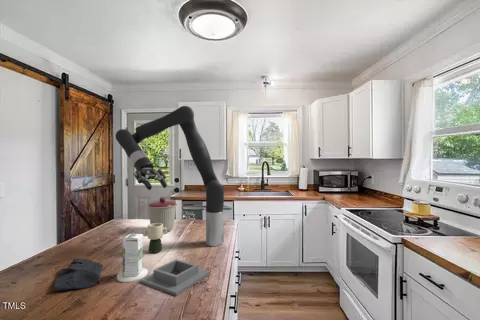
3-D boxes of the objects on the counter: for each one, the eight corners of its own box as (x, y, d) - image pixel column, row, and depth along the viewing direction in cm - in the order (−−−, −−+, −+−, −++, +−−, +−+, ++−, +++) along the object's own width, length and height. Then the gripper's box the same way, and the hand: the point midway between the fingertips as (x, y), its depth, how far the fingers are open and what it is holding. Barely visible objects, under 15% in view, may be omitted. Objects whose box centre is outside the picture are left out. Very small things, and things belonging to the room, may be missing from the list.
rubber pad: (135, 267, 104) (135, 265, 104) (154, 273, 98) (154, 271, 98) (110, 278, 94) (110, 275, 94) (129, 285, 89) (129, 283, 89)
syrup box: (128, 270, 99) (128, 233, 99) (143, 269, 99) (143, 233, 99) (122, 276, 93) (122, 238, 93) (138, 276, 94) (138, 237, 94)
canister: (155, 226, 168) (155, 195, 168) (181, 227, 165) (181, 195, 165) (141, 234, 150) (141, 199, 150) (170, 235, 147) (170, 199, 147)
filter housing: (176, 264, 106) (176, 255, 106) (210, 274, 97) (210, 264, 97) (140, 282, 91) (140, 271, 91) (176, 295, 82) (176, 283, 82)
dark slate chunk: (43, 297, 82) (43, 283, 82) (61, 270, 102) (61, 258, 102) (97, 288, 88) (97, 274, 88) (104, 264, 108) (104, 253, 108)
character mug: (166, 247, 127) (166, 222, 127) (167, 252, 120) (167, 225, 120) (143, 250, 123) (143, 224, 123) (143, 255, 116) (143, 227, 116)
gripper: (131, 156, 110) (149, 183, 104) (157, 156, 122) (174, 180, 116) (124, 168, 113) (141, 195, 107) (149, 167, 125) (166, 191, 119)
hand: (158, 187), depth 112 cm, fingers open, 8 cm apart
